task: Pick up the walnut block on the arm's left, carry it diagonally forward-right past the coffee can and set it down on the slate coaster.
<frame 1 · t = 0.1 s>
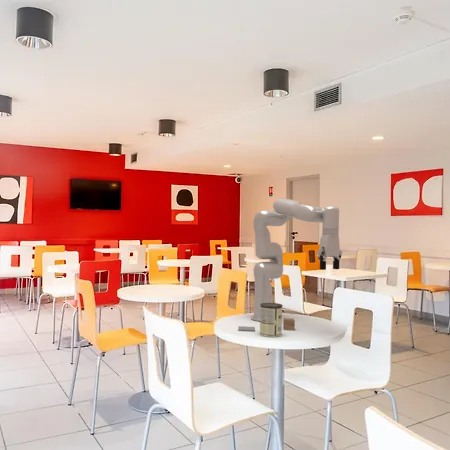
hand: (329, 269, 211), 31 cm above the table, tool pointing down, fingers open, 9 cm apart
walnut block: (288, 329, 222), on the table
coffee can: (270, 335, 208), on the table
slate coaster: (246, 329, 218), on the table
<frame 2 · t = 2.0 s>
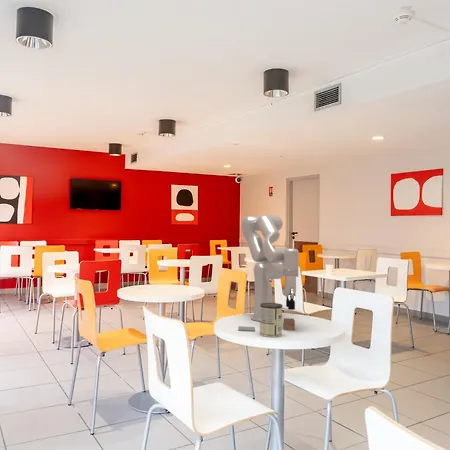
hand: (290, 308, 221), 10 cm above the table, tool pointing down, fingers open, 9 cm apart
nothing on the table moved.
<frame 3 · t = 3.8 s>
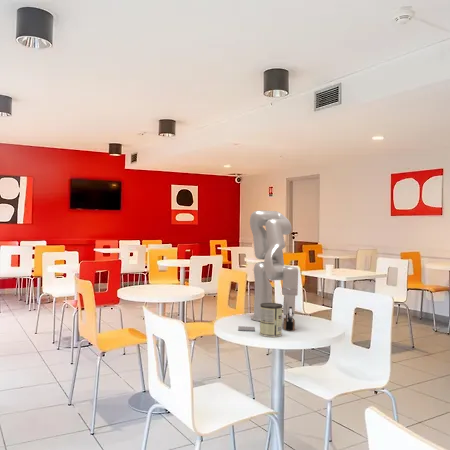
hand: (288, 328, 222), 0 cm above the table, tool pointing down, fingers closed on walnut block, 5 cm apart
walnut block: (288, 329, 222), on the table, touching gripper
everything else where it was.
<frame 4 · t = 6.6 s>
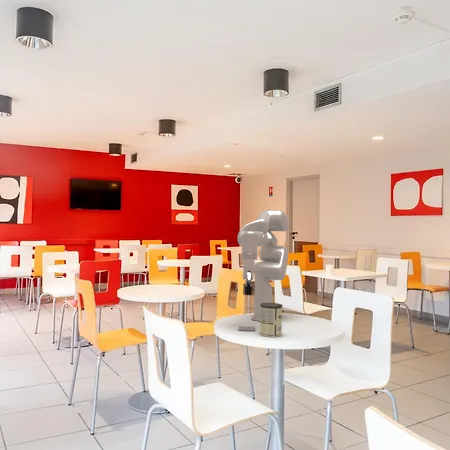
hand: (248, 293, 218), 17 cm above the table, tool pointing down, fingers closed on walnut block, 5 cm apart
walnut block: (248, 294, 218), point 17 cm above the table, touching gripper
everything else where it was.
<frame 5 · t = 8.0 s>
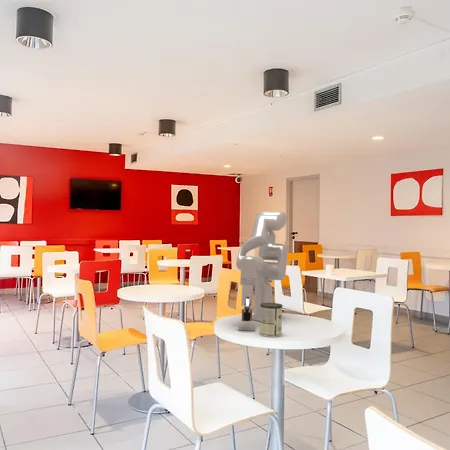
hand: (246, 319, 217), 5 cm above the table, tool pointing down, fingers closed on walnut block, 5 cm apart
walnut block: (246, 320, 217), point 4 cm above the table, touching gripper
everything else where it was.
when the fingers open (2 cm above the table, at t = 9.2 s): walnut block stays where it is, resting on slate coaster.
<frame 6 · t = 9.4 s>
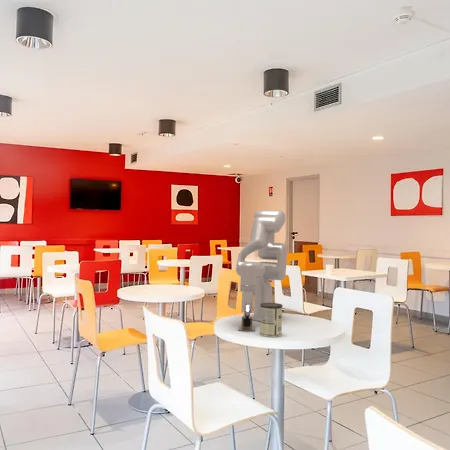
hand: (246, 324, 218), 2 cm above the table, tool pointing down, fingers open, 7 cm apart
walnut block: (246, 328, 218), point 1 cm above the table, touching slate coaster
everything else where it was.
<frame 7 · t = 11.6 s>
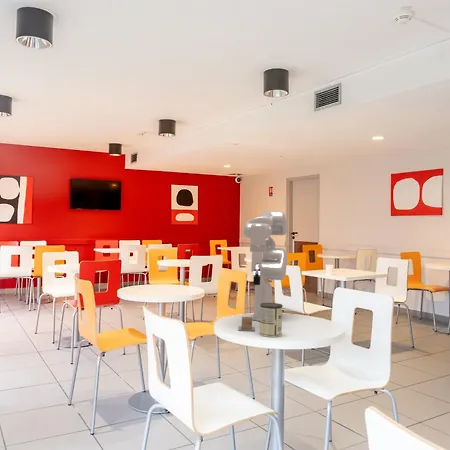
hand: (256, 283, 221), 22 cm above the table, tool pointing down, fingers open, 9 cm apart
nothing on the table moved.
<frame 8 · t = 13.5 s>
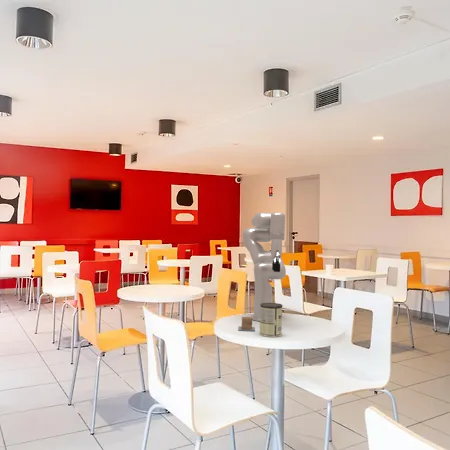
hand: (276, 271, 226), 28 cm above the table, tool pointing down, fingers open, 9 cm apart
nothing on the table moved.
at the end: walnut block inside the target area on the slate coaster (0.1 cm from its centre), point 0.6 cm above the slate coaster's base; walnut block tilted 0°; the gripper is holding nothing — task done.
